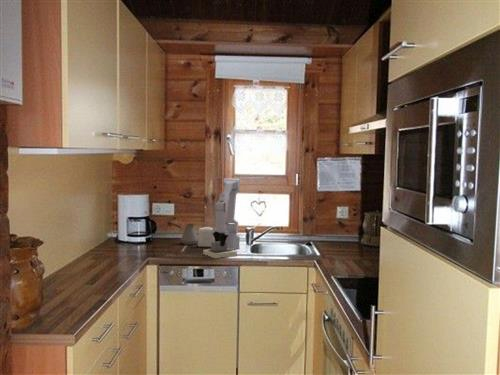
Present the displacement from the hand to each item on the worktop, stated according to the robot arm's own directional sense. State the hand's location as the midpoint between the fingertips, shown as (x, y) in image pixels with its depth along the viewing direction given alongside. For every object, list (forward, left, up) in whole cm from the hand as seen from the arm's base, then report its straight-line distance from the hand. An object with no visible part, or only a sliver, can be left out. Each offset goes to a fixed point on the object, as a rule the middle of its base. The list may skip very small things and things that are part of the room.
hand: (220, 245), depth 268 cm
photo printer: (-6, -26, -6) cm, 27 cm away
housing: (+1, 0, -3) cm, 3 cm away
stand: (0, 0, -6) cm, 6 cm away
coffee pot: (+4, -38, -6) cm, 39 cm away
